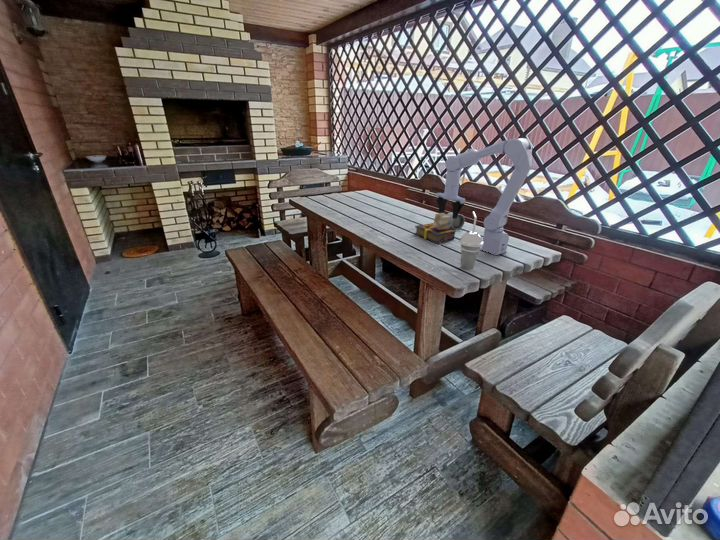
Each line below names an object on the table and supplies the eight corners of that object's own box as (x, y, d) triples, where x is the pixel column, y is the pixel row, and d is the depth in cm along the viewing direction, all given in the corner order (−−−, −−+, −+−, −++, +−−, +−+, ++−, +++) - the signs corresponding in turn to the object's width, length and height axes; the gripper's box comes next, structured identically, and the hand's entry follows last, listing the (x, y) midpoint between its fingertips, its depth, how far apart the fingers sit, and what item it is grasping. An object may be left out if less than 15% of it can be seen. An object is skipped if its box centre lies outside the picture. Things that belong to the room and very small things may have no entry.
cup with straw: (451, 268, 121) (459, 215, 112) (459, 260, 127) (467, 210, 119) (475, 274, 116) (485, 219, 108) (482, 266, 123) (491, 213, 115)
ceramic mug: (453, 224, 172) (455, 210, 169) (464, 228, 166) (466, 213, 162) (436, 226, 169) (438, 212, 165) (446, 231, 162) (448, 216, 159)
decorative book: (432, 231, 162) (433, 221, 160) (456, 241, 150) (457, 230, 147) (414, 234, 157) (415, 224, 155) (437, 245, 144) (439, 234, 142)
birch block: (446, 228, 150) (449, 216, 147) (439, 230, 148) (442, 217, 144) (440, 224, 153) (443, 212, 150) (432, 225, 151) (435, 213, 148)
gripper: (433, 183, 145) (430, 213, 151) (459, 189, 134) (454, 221, 140) (444, 182, 149) (440, 211, 155) (470, 187, 138) (465, 219, 144)
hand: (448, 216), depth 147 cm, fingers open, 7 cm apart
